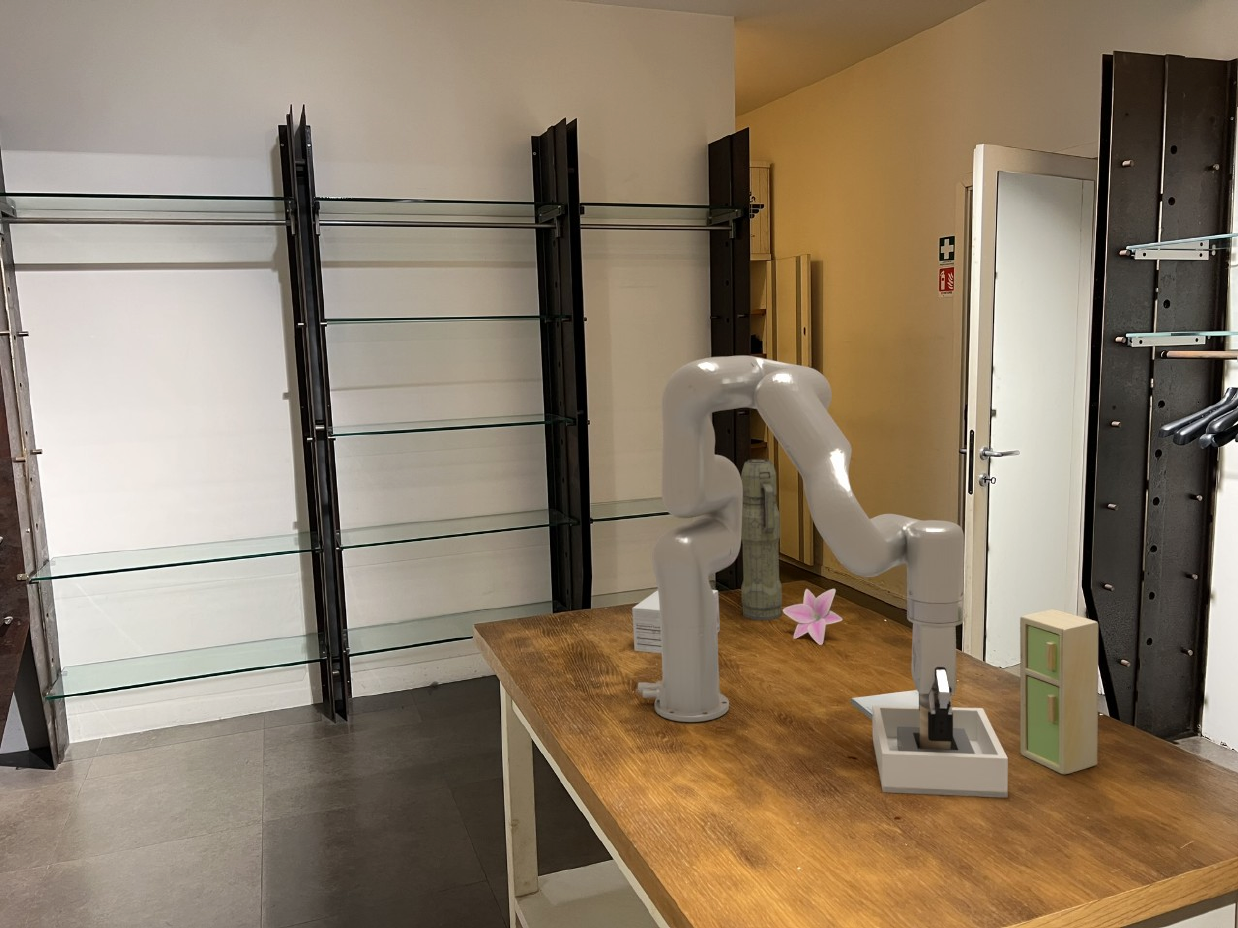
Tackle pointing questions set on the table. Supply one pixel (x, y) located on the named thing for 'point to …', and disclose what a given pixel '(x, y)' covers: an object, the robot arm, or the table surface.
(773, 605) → the thermos
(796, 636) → the lily
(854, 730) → the table surface
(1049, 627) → the toy refrigerator
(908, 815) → the table surface
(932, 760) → the walled box
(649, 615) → the supplement box
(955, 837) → the table surface
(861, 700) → the hard drive
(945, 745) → the peg
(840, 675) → the table surface
